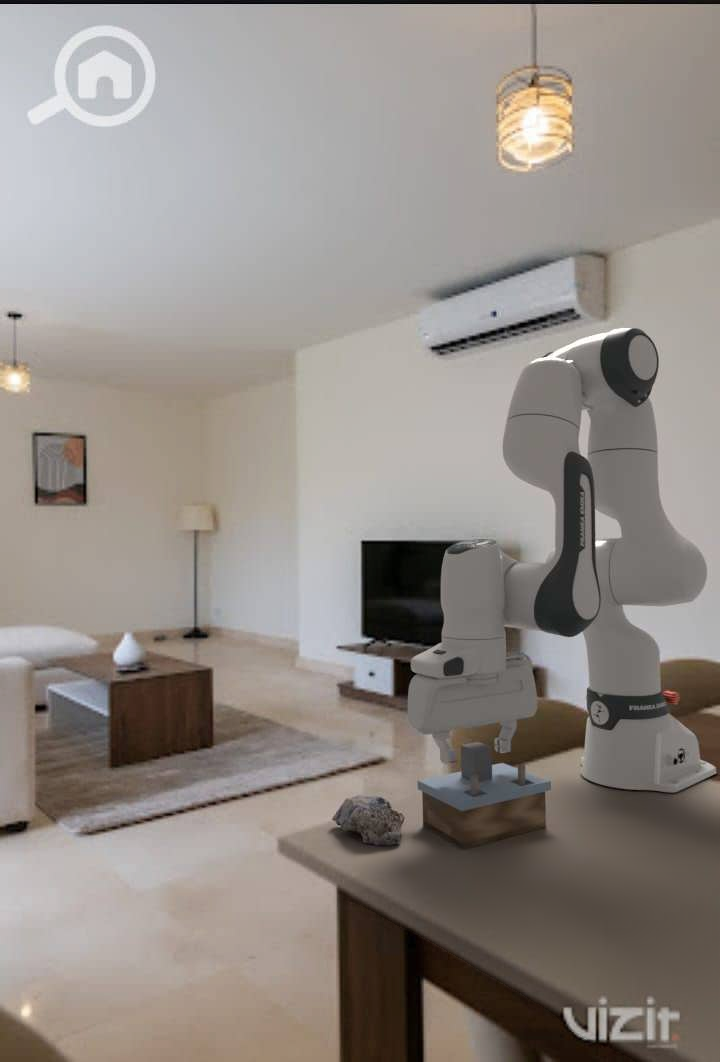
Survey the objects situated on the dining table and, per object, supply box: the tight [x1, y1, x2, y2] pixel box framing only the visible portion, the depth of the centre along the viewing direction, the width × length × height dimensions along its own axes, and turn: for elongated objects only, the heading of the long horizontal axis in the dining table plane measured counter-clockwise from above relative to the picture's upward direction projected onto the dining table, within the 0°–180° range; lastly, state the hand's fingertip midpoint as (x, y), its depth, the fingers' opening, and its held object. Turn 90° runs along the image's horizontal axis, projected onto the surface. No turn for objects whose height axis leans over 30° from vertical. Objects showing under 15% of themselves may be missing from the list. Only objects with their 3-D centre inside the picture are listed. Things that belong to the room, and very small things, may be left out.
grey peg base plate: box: [417, 741, 552, 811], centre depth 102 cm, size 15×10×6 cm, turn 119°
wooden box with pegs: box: [421, 763, 547, 850], centre depth 101 cm, size 14×9×8 cm, turn 119°
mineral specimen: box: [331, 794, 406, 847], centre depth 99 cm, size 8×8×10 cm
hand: (476, 756), depth 103 cm, fingers open, 8 cm apart
